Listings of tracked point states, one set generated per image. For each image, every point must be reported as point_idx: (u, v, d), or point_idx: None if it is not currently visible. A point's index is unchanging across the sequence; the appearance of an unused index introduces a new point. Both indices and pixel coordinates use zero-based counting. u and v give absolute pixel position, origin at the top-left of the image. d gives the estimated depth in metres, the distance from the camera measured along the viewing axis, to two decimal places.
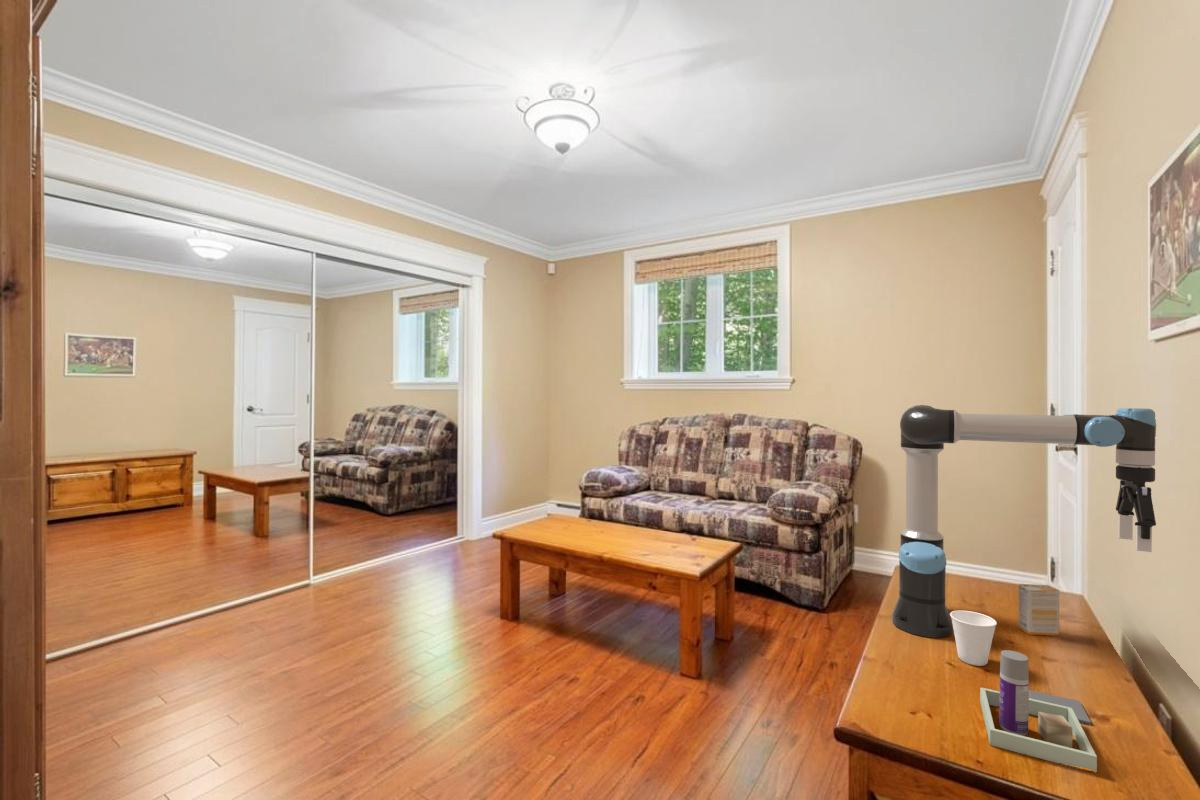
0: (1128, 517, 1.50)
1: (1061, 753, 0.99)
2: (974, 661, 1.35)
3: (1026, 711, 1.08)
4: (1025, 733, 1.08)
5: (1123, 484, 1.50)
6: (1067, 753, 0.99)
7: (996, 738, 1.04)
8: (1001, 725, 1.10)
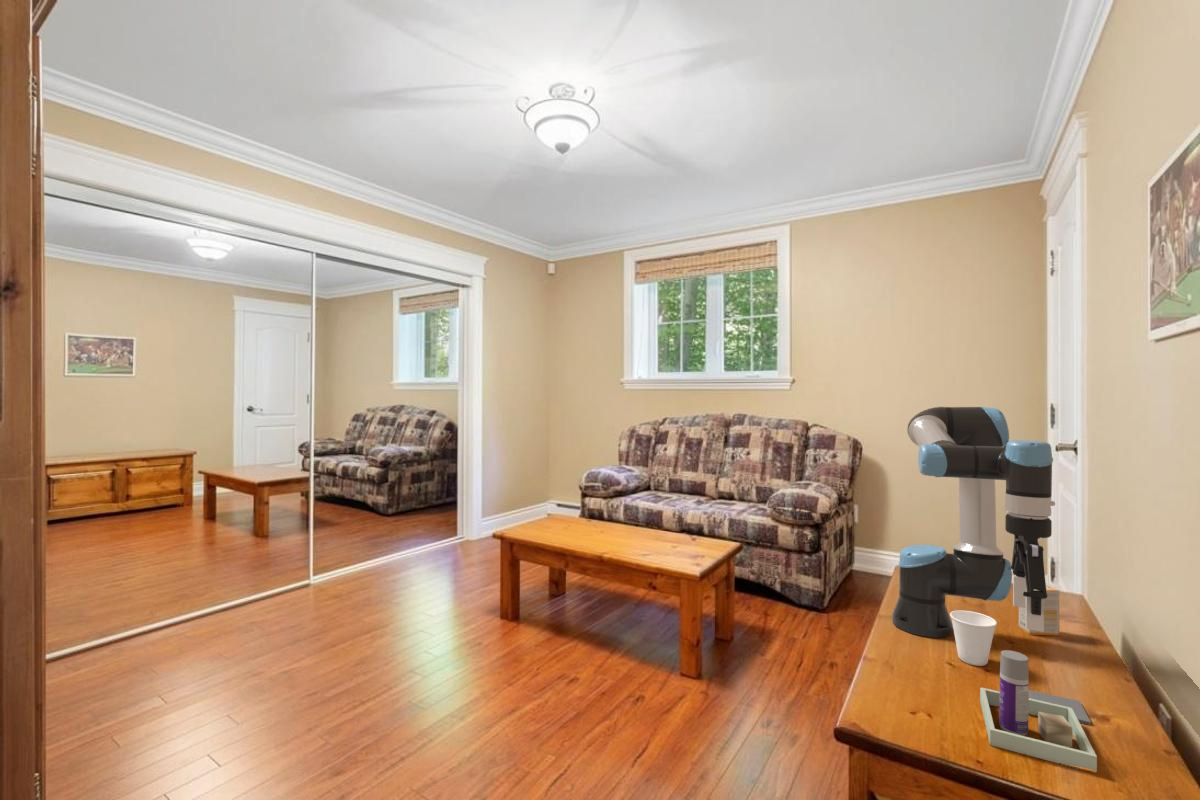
0: (1024, 579, 1.17)
1: (1061, 753, 0.99)
2: (974, 661, 1.35)
3: (1026, 711, 1.08)
4: (1025, 733, 1.08)
5: (1017, 537, 1.17)
6: (1067, 753, 0.99)
7: (996, 738, 1.04)
8: (1001, 725, 1.10)
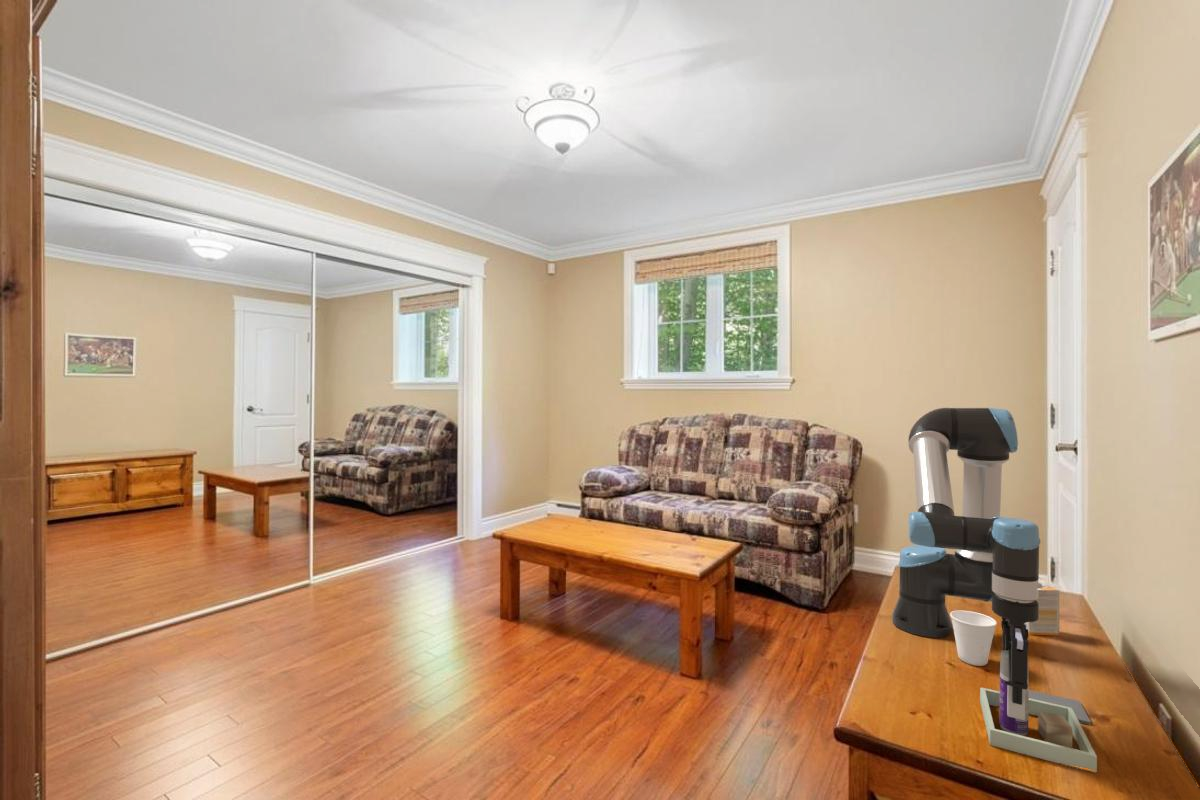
0: None
1: (1061, 753, 0.99)
2: (974, 661, 1.35)
3: (1026, 711, 1.08)
4: (1025, 733, 1.08)
5: (1005, 620, 1.15)
6: (1067, 753, 0.99)
7: (996, 738, 1.04)
8: (1001, 725, 1.10)
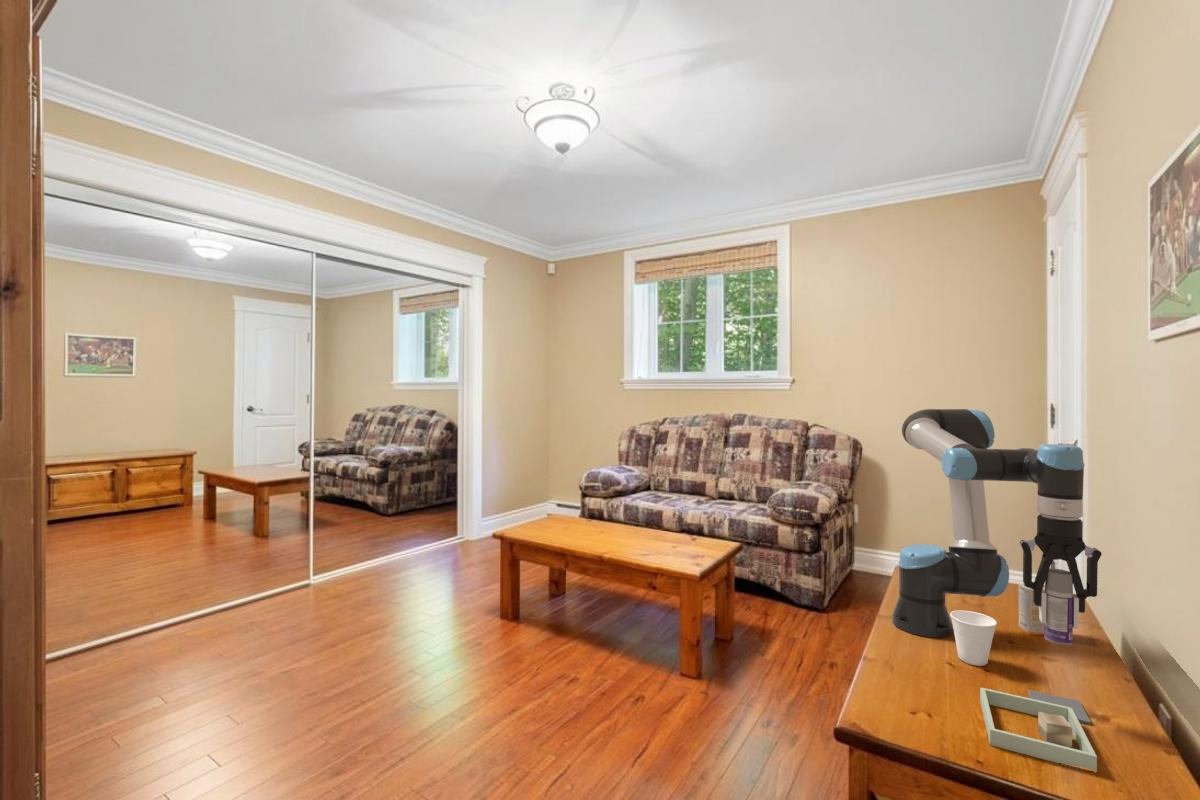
0: None
1: (1061, 753, 0.99)
2: (974, 661, 1.35)
3: (1051, 620, 1.16)
4: (1050, 640, 1.16)
5: None
6: (1067, 753, 0.99)
7: (996, 738, 1.04)
8: None
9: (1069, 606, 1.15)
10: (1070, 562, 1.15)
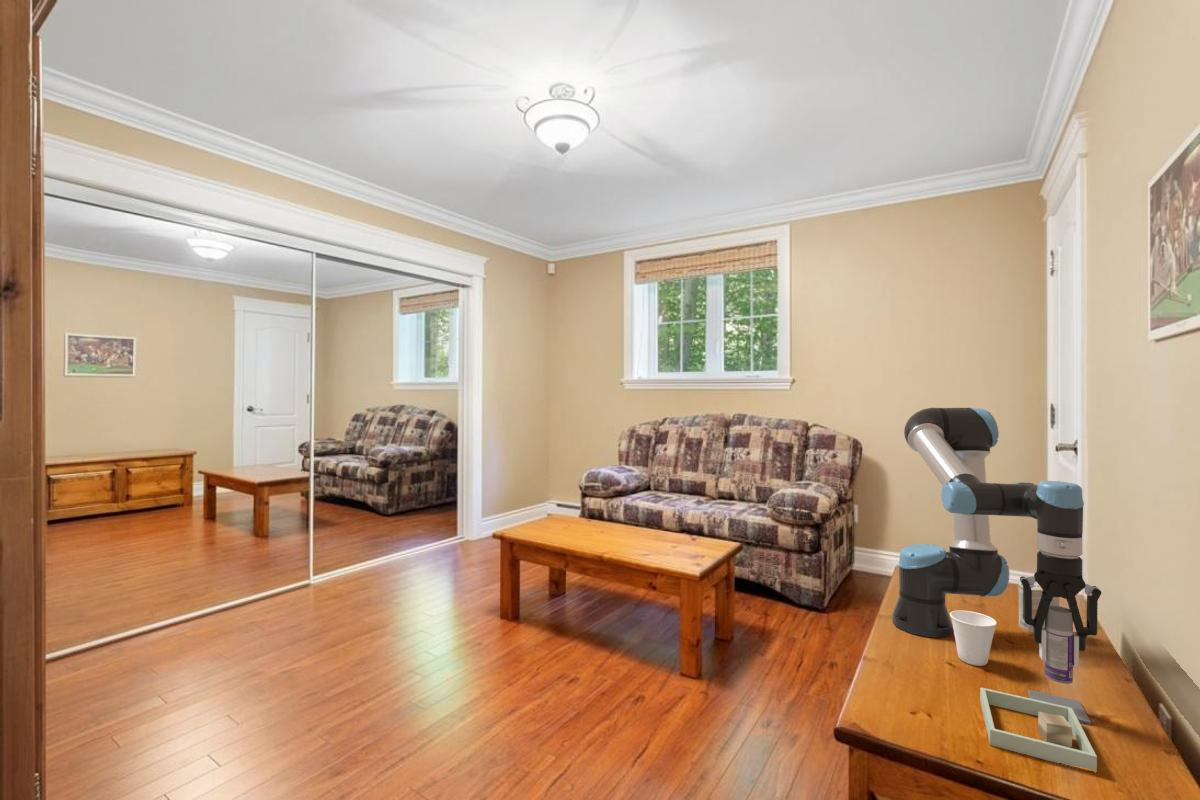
0: None
1: (1061, 753, 0.99)
2: (974, 661, 1.35)
3: (1052, 658, 1.16)
4: (1051, 677, 1.16)
5: None
6: (1067, 753, 0.99)
7: (996, 738, 1.04)
8: None
9: (1069, 644, 1.15)
10: (1070, 600, 1.15)
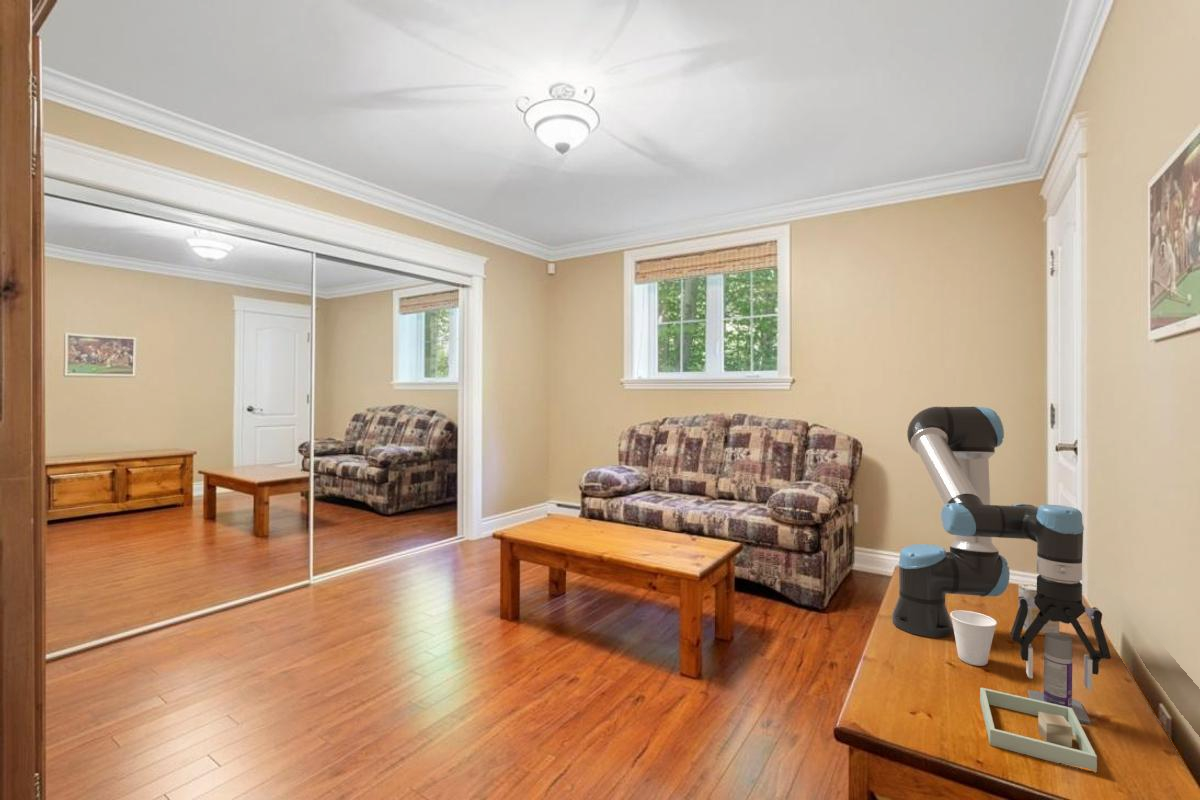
0: (1086, 659, 1.14)
1: (1061, 753, 0.99)
2: (974, 661, 1.35)
3: (1051, 685, 1.16)
4: None
5: None
6: (1067, 753, 0.99)
7: (996, 738, 1.04)
8: None
9: (1068, 672, 1.15)
10: (1074, 625, 1.14)
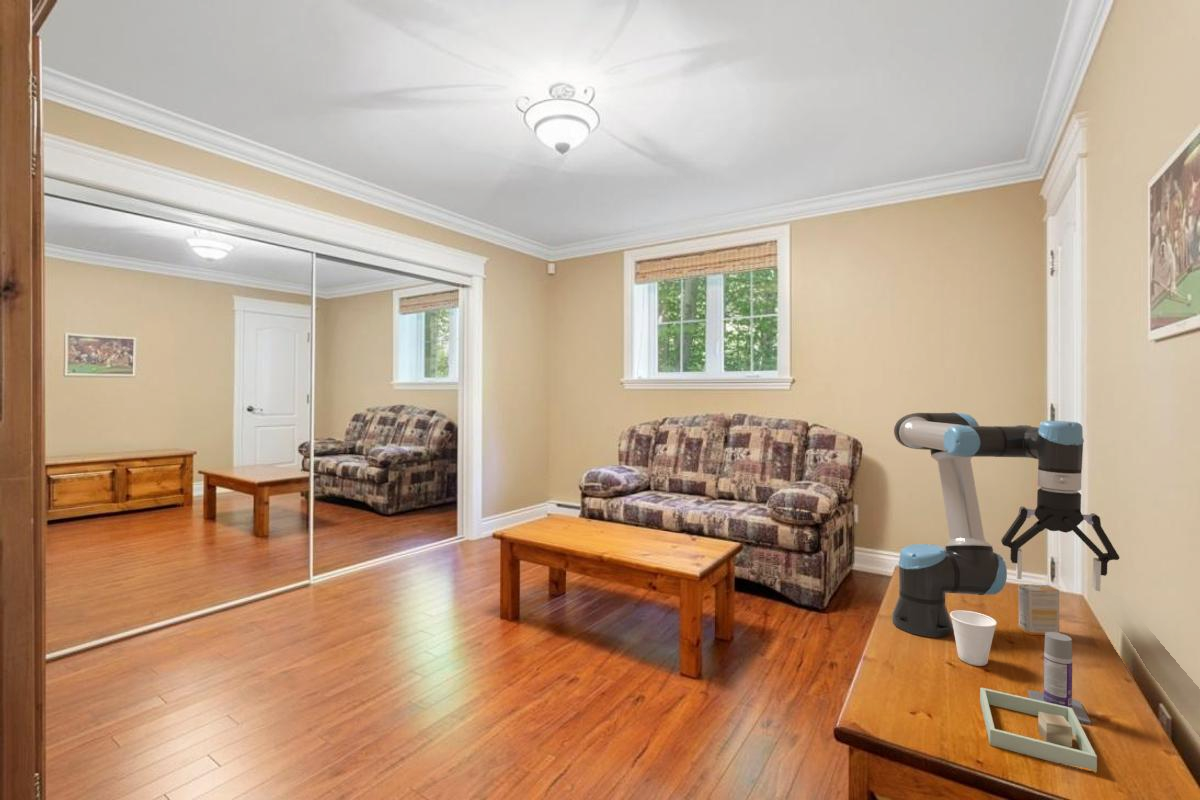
0: (1095, 561, 1.18)
1: (1061, 753, 0.99)
2: (974, 661, 1.35)
3: (1051, 685, 1.16)
4: None
5: None
6: (1067, 753, 0.99)
7: (996, 738, 1.04)
8: None
9: (1068, 672, 1.15)
10: (1076, 532, 1.19)
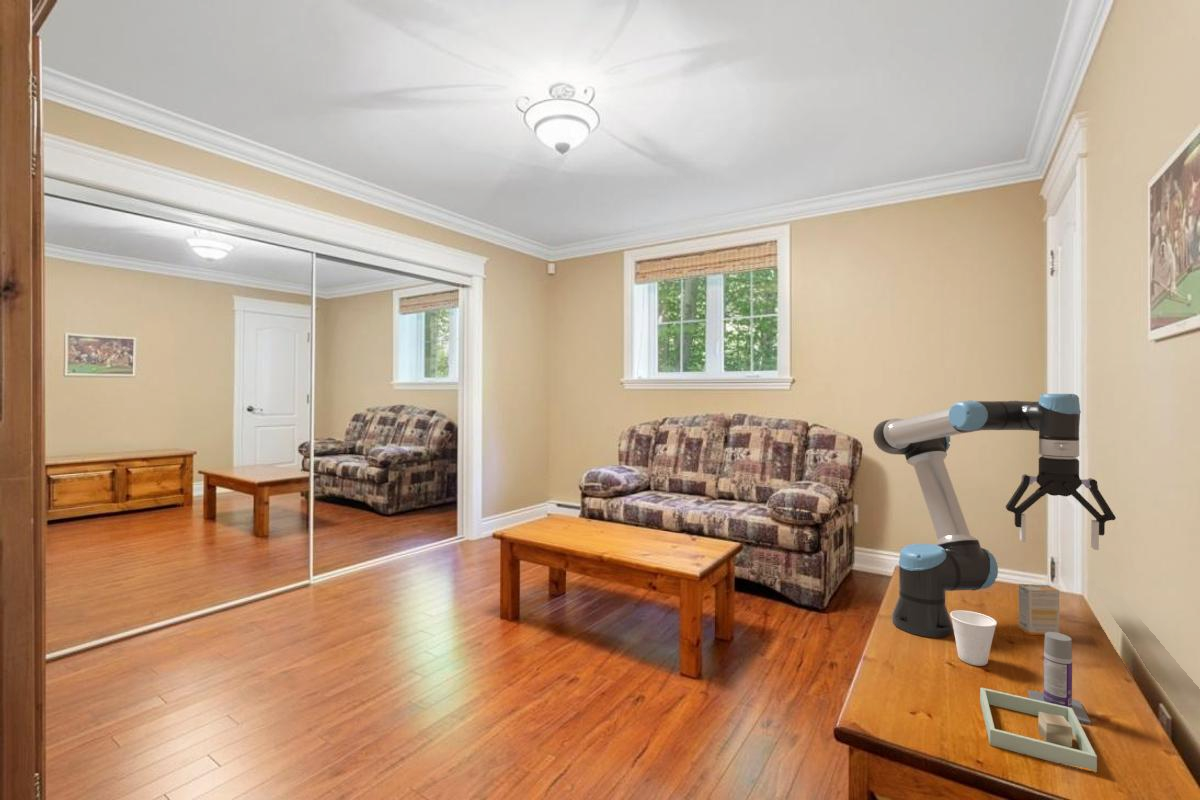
0: (1093, 522, 1.27)
1: (1061, 753, 0.99)
2: (974, 661, 1.35)
3: (1051, 685, 1.16)
4: None
5: None
6: (1067, 753, 0.99)
7: (996, 738, 1.04)
8: None
9: (1068, 672, 1.15)
10: (1075, 495, 1.28)
